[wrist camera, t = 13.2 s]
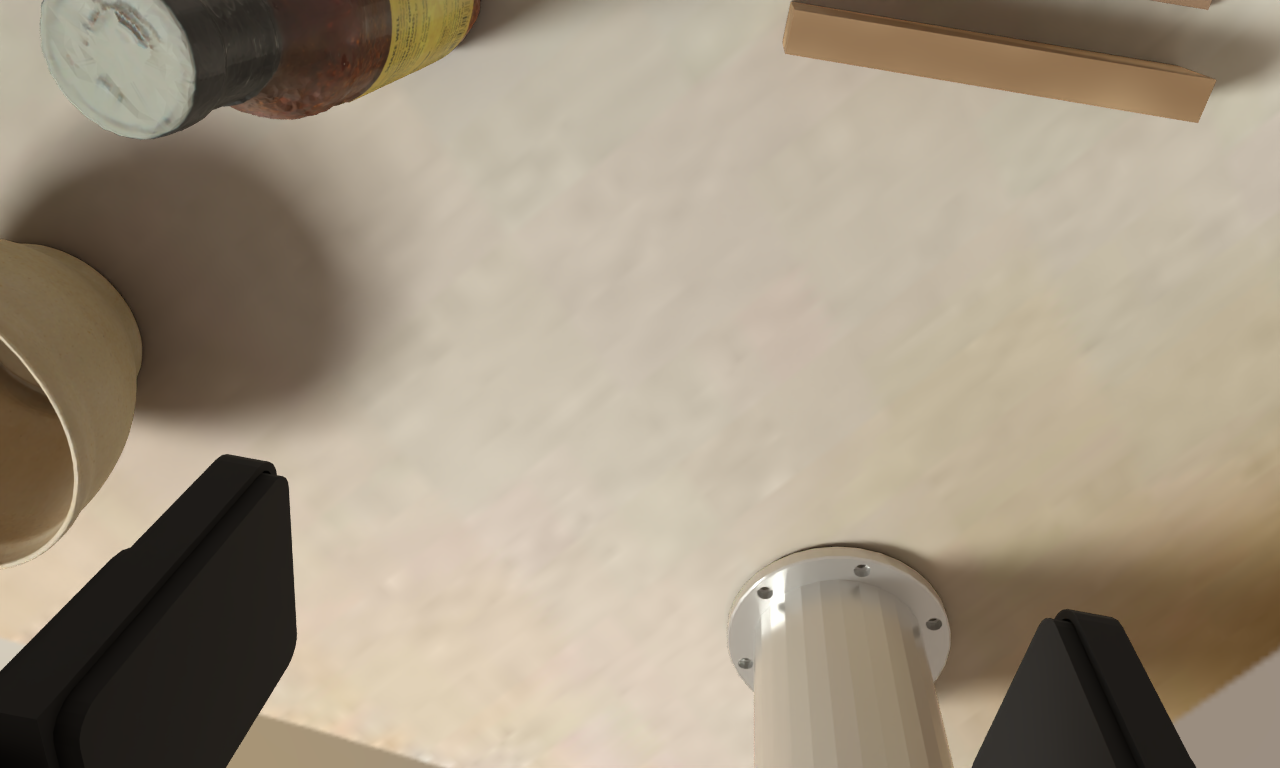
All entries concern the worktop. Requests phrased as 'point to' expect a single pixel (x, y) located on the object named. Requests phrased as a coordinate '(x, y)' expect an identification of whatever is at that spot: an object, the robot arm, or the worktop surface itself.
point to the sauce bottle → (237, 55)
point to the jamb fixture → (999, 61)
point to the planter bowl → (58, 392)
